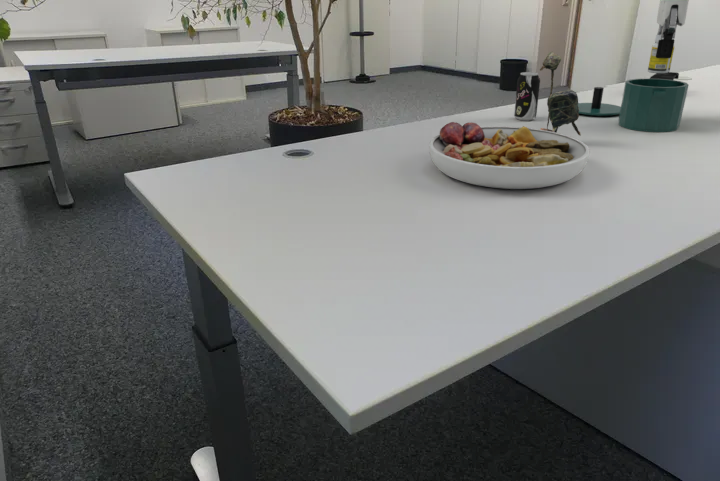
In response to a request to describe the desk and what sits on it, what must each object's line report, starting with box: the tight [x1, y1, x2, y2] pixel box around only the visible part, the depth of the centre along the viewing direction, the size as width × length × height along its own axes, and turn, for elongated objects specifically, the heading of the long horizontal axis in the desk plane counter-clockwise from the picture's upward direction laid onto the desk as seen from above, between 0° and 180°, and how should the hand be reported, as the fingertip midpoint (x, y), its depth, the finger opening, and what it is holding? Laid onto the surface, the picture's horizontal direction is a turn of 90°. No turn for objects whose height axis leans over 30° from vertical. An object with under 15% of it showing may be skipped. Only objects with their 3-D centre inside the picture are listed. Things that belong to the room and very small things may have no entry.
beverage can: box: [513, 71, 541, 122], centre depth 145 cm, size 6×6×12 cm
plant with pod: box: [539, 51, 582, 137], centre depth 122 cm, size 8×11×20 cm
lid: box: [578, 86, 621, 117], centre depth 153 cm, size 15×15×7 cm
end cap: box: [649, 71, 680, 80], centre depth 174 cm, size 10×7×7 cm
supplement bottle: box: [647, 34, 675, 74], centre depth 131 cm, size 5×5×8 cm
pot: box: [618, 77, 690, 133], centre depth 136 cm, size 14×19×10 cm
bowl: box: [428, 121, 591, 190], centre depth 107 cm, size 30×30×8 cm
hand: (661, 55), depth 131 cm, fingers closed on supplement bottle, 4 cm apart
